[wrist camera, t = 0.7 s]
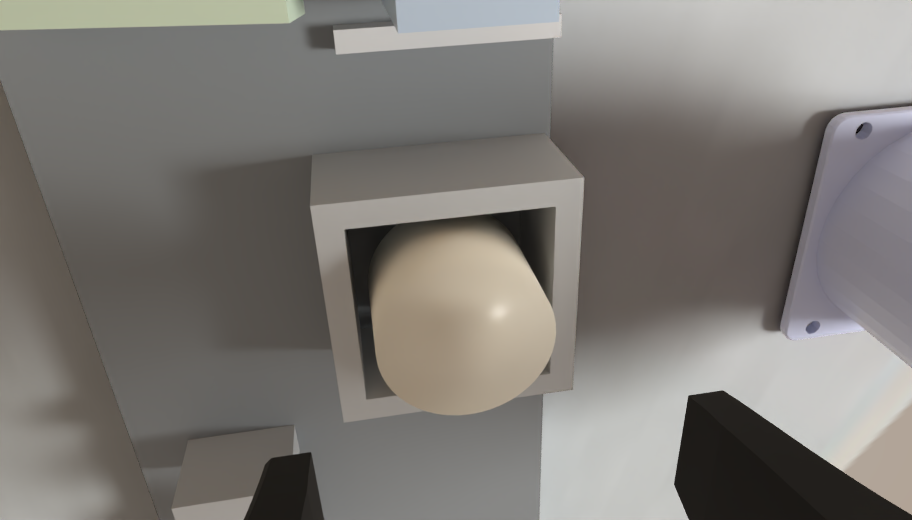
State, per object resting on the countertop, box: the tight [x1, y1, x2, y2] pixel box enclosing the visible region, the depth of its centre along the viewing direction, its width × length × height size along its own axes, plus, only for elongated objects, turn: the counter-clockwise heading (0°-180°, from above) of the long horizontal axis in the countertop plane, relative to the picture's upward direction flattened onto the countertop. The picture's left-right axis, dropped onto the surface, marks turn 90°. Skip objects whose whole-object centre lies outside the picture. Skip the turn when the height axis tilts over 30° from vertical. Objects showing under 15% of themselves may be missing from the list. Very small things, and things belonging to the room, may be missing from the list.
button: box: [368, 214, 556, 415], centre depth 15 cm, size 4×4×3 cm
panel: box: [0, 0, 584, 520], centre depth 19 cm, size 12×30×5 cm, turn 2°
